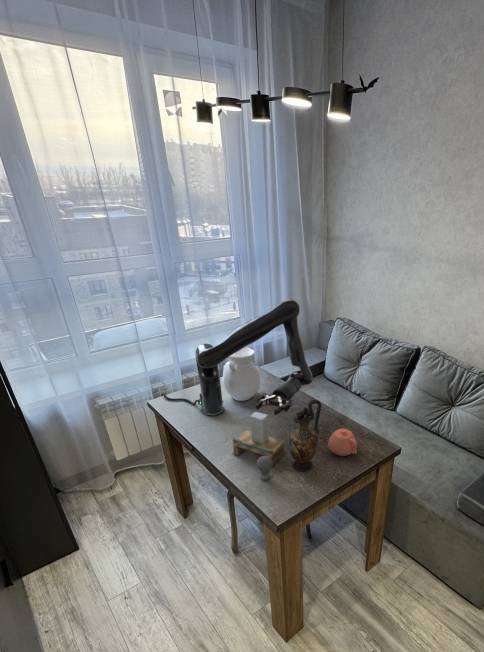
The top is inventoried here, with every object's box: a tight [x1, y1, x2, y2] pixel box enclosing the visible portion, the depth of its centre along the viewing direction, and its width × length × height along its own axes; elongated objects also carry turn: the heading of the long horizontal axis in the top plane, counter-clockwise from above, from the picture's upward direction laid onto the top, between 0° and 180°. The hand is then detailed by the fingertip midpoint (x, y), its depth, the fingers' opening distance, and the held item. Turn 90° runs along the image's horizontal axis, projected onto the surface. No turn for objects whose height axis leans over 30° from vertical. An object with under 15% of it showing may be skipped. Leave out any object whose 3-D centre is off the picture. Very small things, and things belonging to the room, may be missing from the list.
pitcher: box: [222, 346, 261, 402], centre depth 198 cm, size 19×18×25 cm
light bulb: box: [256, 455, 274, 480], centre depth 149 cm, size 6×6×10 cm
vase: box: [287, 399, 322, 472], centre depth 151 cm, size 12×12×30 cm
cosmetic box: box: [249, 411, 270, 444], centre depth 159 cm, size 6×4×12 cm
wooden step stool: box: [232, 429, 285, 466], centre depth 163 cm, size 18×10×8 cm, turn 67°
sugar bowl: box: [327, 428, 358, 457], centre depth 166 cm, size 12×14×10 cm
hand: (265, 410), depth 161 cm, fingers open, 8 cm apart
